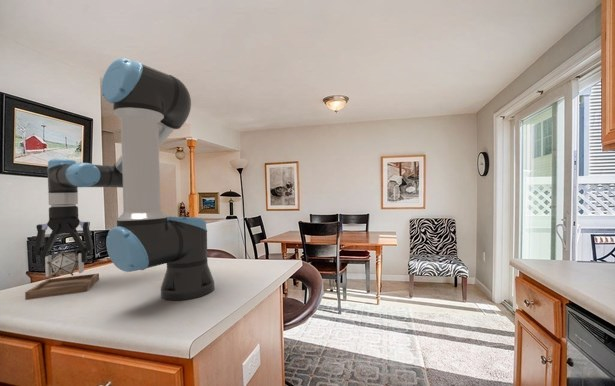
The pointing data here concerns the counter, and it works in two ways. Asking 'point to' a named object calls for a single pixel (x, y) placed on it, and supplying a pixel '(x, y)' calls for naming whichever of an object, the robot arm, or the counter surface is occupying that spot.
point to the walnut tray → (62, 286)
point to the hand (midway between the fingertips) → (65, 273)
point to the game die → (64, 263)
